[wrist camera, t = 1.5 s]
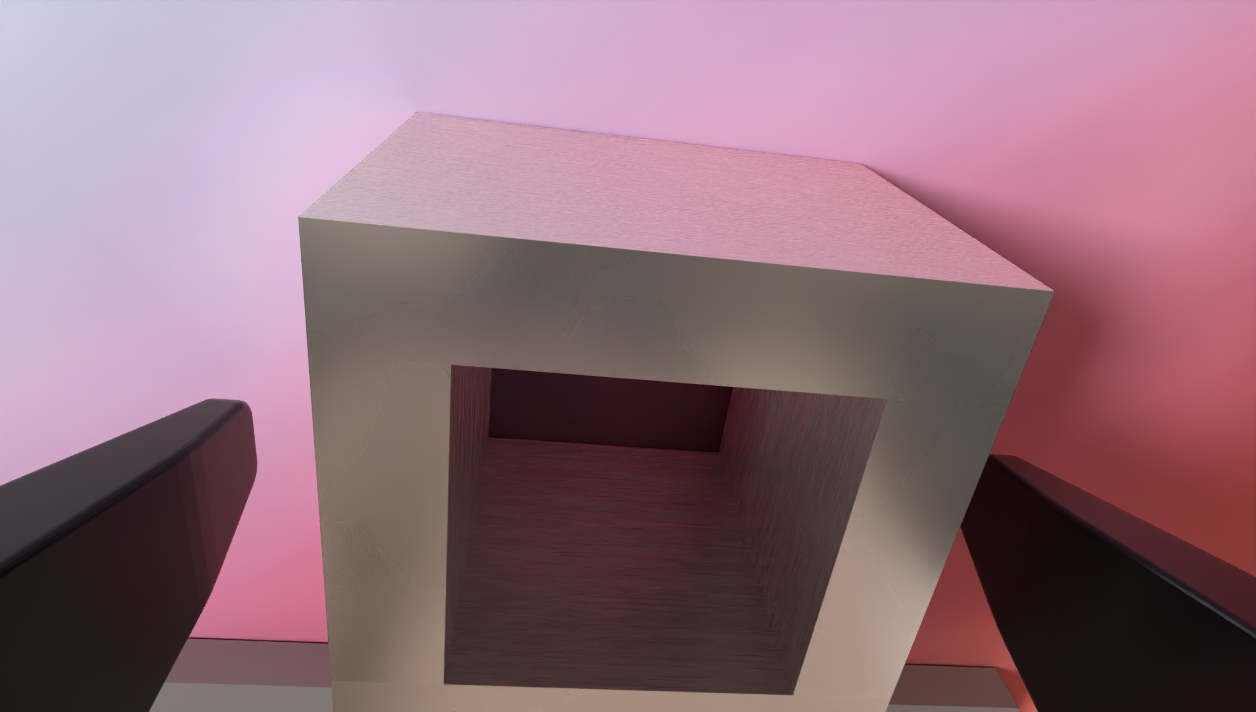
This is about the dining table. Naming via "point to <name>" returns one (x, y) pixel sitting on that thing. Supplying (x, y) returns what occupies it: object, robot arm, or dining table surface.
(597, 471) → the grey hollow square block
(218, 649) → the post plate
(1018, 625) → the robot arm
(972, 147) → the dining table surface
